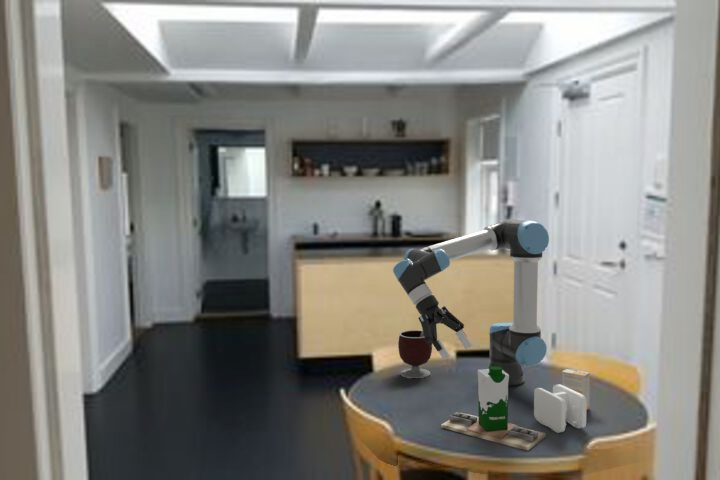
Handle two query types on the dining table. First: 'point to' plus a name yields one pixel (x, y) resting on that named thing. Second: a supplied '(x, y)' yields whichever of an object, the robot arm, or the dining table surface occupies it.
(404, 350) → the mate gourd
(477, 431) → the board with end clamps
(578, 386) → the supplement box
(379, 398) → the dining table surface
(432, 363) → the dining table surface
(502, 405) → the soya milk
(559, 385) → the cable organizer
